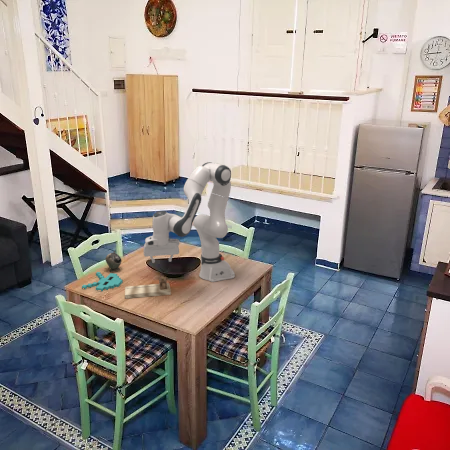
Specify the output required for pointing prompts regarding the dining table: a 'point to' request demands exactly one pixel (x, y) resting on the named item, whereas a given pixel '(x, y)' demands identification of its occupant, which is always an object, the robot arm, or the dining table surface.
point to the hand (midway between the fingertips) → (161, 261)
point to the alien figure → (105, 282)
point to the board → (146, 291)
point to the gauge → (162, 283)
